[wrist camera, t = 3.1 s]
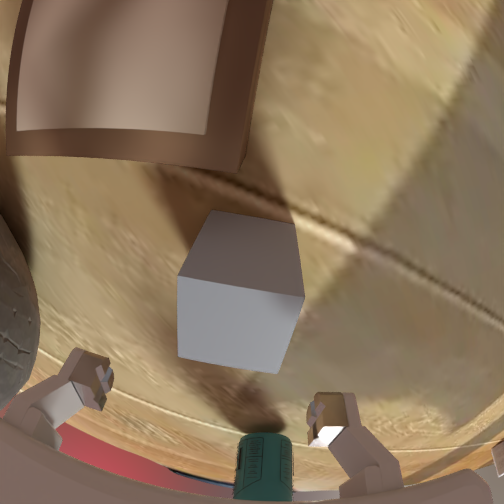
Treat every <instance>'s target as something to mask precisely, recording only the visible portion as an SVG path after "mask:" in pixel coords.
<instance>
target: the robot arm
mask: <svg viewBox="0 0 504 504" xmlns="http://www.w3.org/2000/svg"><path fill="white" fill-rule="evenodd" d="M109 365H110V360H109V358H107V357H104V356H101V355H98V354H95V353H92V352H89V351H86V350H83V349H80V348H77V347H76V348H74V349H73V350H72V352H71V353H70V355H69V357H68V358H67V360H66V362H65V363H64V365H63V367H62V369H61V370H60V372H59V374H58V375H53V376H51V377H49V378H48V379H46V380H44V381H42V382H40V383H38V384H36V385H35V386H33V387H31V388H29V389H27V390H25V391H24V392H22V393H20V394H18V395H16V396H15V397H14V399H13V401H12V402H11V404H10V406H9V408H8V410H7V412H6V413H5V416H4V417H3V419H2V418H0V504H493V499H492V494H491V490H490V487H489V485H488V483H487V482H486V481H485V480H484V479H483V478H481V477H480V476H479V475H478V474H476V473H475V472H474V471H472V470H471V469H463V470H460V471H457V472H454V473H452V474H449V475H446V476H443V477H440V478H437V479H433V480H430V481H427V482H423V483H420V484H416V485H412V486H408V487H404V485H403V480H402V475H401V470H400V465H399V461H398V460H397V459H396V458H395V457H394V456H393V455H392V454H391V453H390V452H389V451H388V450H387V449H386V448H385V447H384V446H383V445H382V444H381V443H380V442H379V441H378V440H377V438H376V437H375V436H374V435H373V434H372V433H371V432H370V431H369V430H368V429H367V428H366V427H365V426H362V425H361V421H360V416H359V411H358V407H357V402H356V398H355V395H354V393H341V392H317V393H316V394H315V395H314V401H312V402H310V404H309V406H308V409H307V414H306V421H307V424H308V425H309V426H310V429H309V431H308V432H307V434H308V446H329V447H328V448H329V450H330V451H331V452H332V454H333V455H334V457H335V458H336V459H337V461H338V462H339V464H340V465H341V466H342V468H343V469H344V471H345V472H346V473H347V475H348V476H349V477H350V479H349V480H347V481H346V482H344V483H343V484H342V485H340V486H339V492H340V499H331V500H318V501H293V502H277V501H251V500H238V499H228V498H219V497H211V496H204V495H198V494H192V493H187V492H182V491H177V490H172V489H168V488H163V487H159V486H155V485H151V484H147V483H144V482H140V481H137V480H133V479H130V478H127V477H123V476H120V475H117V474H114V473H111V472H109V471H106V470H103V469H100V468H98V467H95V466H93V465H90V464H88V463H85V462H83V461H80V460H78V459H76V458H73V457H71V456H69V455H67V454H65V453H62V452H60V451H59V448H60V445H61V443H62V437H61V436H60V435H59V434H58V433H57V431H56V430H55V429H56V428H57V427H58V426H59V425H61V424H62V423H63V422H65V421H66V420H67V419H69V418H70V417H71V416H73V415H74V414H75V413H77V412H78V411H79V410H81V409H82V408H83V407H84V406H87V407H89V408H92V409H95V410H99V411H102V410H103V407H104V405H105V403H106V400H107V398H106V393H107V392H109V391H111V388H112V386H113V381H114V373H113V370H112V369H111V368H110V367H109Z"/></svg>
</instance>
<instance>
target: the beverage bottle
mask: <svg viewBox="0 0 504 504" xmlns="http://www.w3.org/2000/svg"><path fill="white" fill-rule="evenodd" d="M237 448H238V446H237ZM237 451H238V454H236V455H238V457H237V468H236V470H235V471H236V477H235V478H234V479H235V480H234V481H235V482H234V484H235V487H233V488H234V497H233V499H238V500H251V501H277V502H292V494H293V493H292V492H293V491H294V490H293V489H292V453H293V452H292V443H291V441H290V439H289V438H288V437H286V436H284V435H281V434H276V433H268V432H260V433H252V434H248V435H245V436H243V437H242V438H241V440H240V442H239V448H238V450H237ZM235 465H236V464H235ZM293 467H294V463H293ZM293 475H294V472H293ZM293 482H294V480H293ZM234 484H233V486H234ZM293 486H294V485H293ZM292 490H293V491H292Z"/></svg>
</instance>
